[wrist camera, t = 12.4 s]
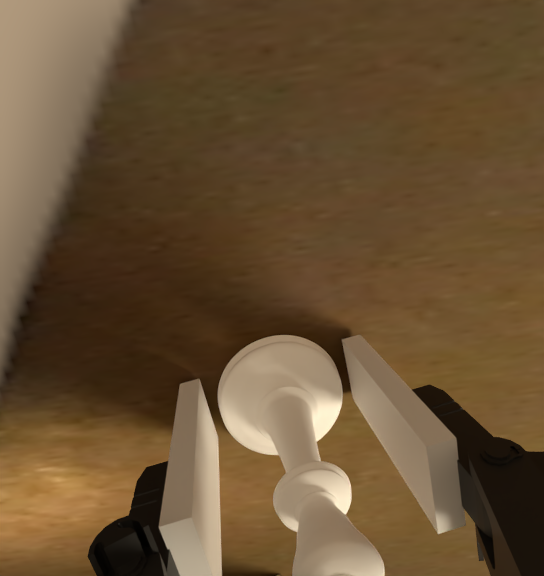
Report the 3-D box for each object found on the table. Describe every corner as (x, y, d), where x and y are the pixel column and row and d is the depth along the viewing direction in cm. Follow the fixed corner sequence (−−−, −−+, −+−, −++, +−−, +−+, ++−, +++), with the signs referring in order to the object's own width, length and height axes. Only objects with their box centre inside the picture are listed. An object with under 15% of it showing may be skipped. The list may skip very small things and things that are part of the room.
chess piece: (203, 434, 16) (190, 800, 7) (237, 321, 15) (280, 561, 6) (317, 455, 17) (448, 798, 8) (356, 350, 16) (563, 595, 7)
